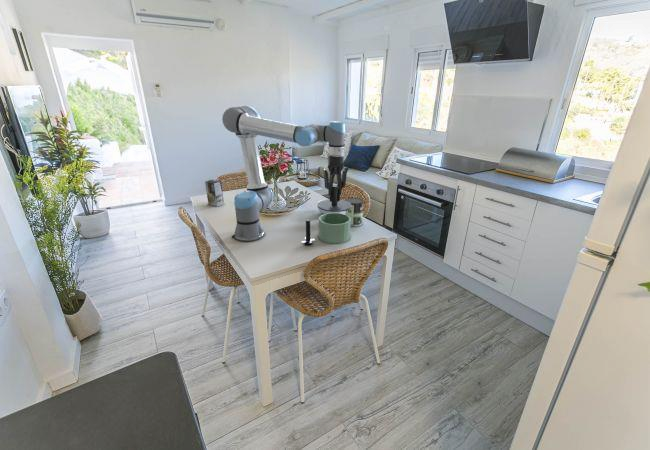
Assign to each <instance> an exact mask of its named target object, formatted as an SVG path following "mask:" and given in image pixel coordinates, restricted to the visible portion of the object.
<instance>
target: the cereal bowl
mask: <svg viewBox="0 0 650 450" xmlns="http://www.w3.org/2000/svg"><path fill="white" fill-rule="evenodd" d="M323 200H324V199H321V200H318V201H317V204H318V203H319V202H320V201H323ZM325 200H328V198H326V199H325ZM317 210H318V211H319V212H320V213H322V215H323V214H326V213H341V212H330V211H325V210H322V209H320V208H318V206H317Z"/></svg>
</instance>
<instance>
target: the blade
mask: <svg viewBox="0 0 650 450" xmlns="http://www.w3.org/2000/svg"><path fill="white" fill-rule="evenodd" d="M303 238H304V239H305V240H301V243H302V244H304V246H311V245H313V242H315V241H316V240H315V238H311V219H305V237H303Z"/></svg>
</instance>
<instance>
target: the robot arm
mask: <svg viewBox="0 0 650 450" xmlns="http://www.w3.org/2000/svg"><path fill="white" fill-rule="evenodd" d="M221 120H222V124H223V126H224V127H225V129H226V130H227V131H229V132H230V133H235V137H237V138H238V139H239V141H240V148H241V153H242V157H243V162H244V168H245V173H246V177H247V183H248V184H247V185H246V188H245V189H246V190H244V191H239V192H238V193H237V194H235V195H234V199H233V200H234V202H233V204H234V205H233V206H234V210H235V211H234V212H235V218H236V219H235V220H236V225H235V229H234V234H233V235H231V238H232V239H233V238H234V239H236V240H237V241H240V242H254V241H258V240H260V239H262V238H263V237H264V235H265V231H264V229H263V226H262V224H261V221H260V212H261V211H263V210H265V209H266V208H268V207H269V206H270V205H271V204H272V202H273V201H274V192H273V190H272V189H271V188H270V187H269V184H268V183H267V182H266V181H265V176H264V171H263V166H262V161H261V160H262V159H261V155H260V149H259V143H258V137H257V136H260V137H265V138H271V139H276V140H280V141H284V142H289V143H295V144H298V145H299V146H300V147H310V146H312V145H313V144H315V143H317V142H322V143H328V147H327V148H328V149H327V150H328V151H327V153H328V157H327V164H328V165H327V167H326V168H322V172H323V180H324V188H325V189H326V190H327V194H328V196H329V199H330V202H333V194H334V190H333V189H332V188H333V185H334V181H335V178H336V183H337V184H336V185H337V186H338V202H339V201H340V200H341V195H342V190H344V189H343V188H345V187H346V182H347V175H348V171H349V167H347V166H344V162H345V156H344V154H345V137H346V124H345V123H344V121H340V120H337V121H335V120H331V121H329V122H328V125H321V124H314V123H313V124H306V125H305V126H302V125H296V124H292V123H287V122H281V121H276V120H272V119H266V118H261V116H260V114H259V112H258V111H257V110H256V108H254V107H252V106H249V105H248V106H247V105H243V106H232V107H228V108H227V109H225V111H224V112H223V114H222V118H221Z"/></svg>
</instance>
